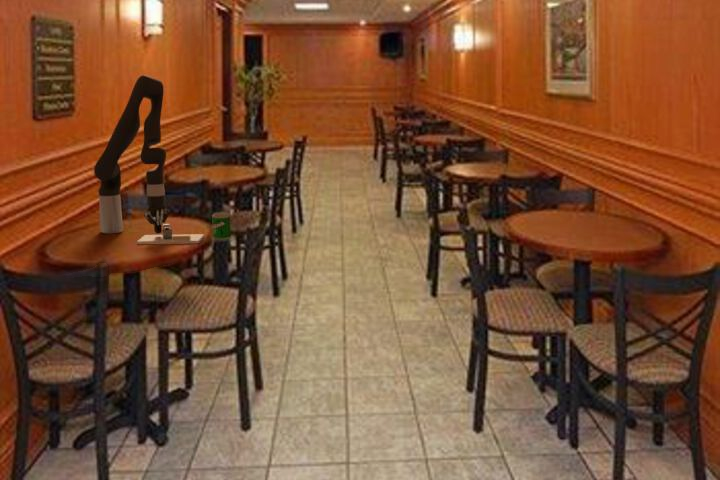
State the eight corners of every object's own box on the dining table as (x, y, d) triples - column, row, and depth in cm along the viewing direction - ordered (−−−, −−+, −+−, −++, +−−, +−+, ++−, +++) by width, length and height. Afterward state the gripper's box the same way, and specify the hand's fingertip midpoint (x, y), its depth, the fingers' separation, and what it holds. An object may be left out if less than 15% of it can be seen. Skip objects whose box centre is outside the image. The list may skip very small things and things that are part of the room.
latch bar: (172, 238, 328) (172, 228, 327) (163, 239, 327) (162, 229, 326) (171, 233, 339) (170, 223, 338) (162, 233, 338) (161, 224, 337)
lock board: (137, 244, 325) (136, 237, 324) (145, 237, 338) (144, 230, 337) (198, 243, 325) (198, 236, 325) (204, 236, 338) (203, 230, 337)
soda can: (222, 237, 337) (221, 210, 334) (234, 239, 332) (233, 212, 330) (209, 240, 331) (208, 213, 328) (221, 242, 326) (219, 215, 324)
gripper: (149, 197, 323) (151, 237, 327) (173, 192, 334) (175, 231, 338) (137, 195, 328) (140, 234, 331) (162, 191, 338) (164, 229, 342)
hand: (158, 233), depth 335 cm, fingers closed
